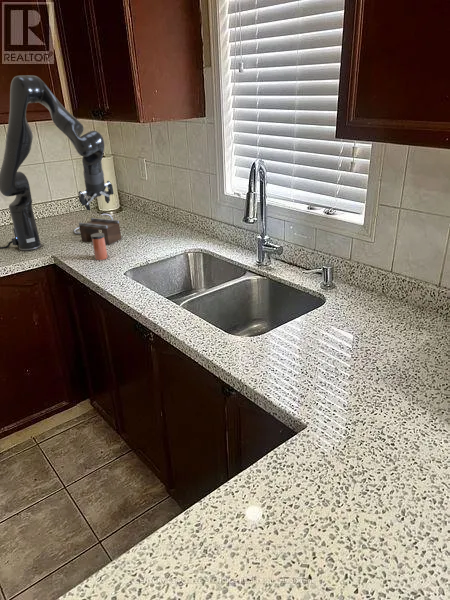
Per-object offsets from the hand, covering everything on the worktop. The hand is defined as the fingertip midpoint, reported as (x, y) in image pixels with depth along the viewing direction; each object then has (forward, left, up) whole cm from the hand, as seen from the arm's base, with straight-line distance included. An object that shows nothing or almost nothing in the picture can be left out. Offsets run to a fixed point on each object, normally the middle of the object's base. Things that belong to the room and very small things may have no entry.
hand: (97, 205), depth 189 cm
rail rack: (-9, +9, -19) cm, 23 cm away
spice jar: (+7, -11, -19) cm, 23 cm away
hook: (-24, +21, -19) cm, 37 cm away
